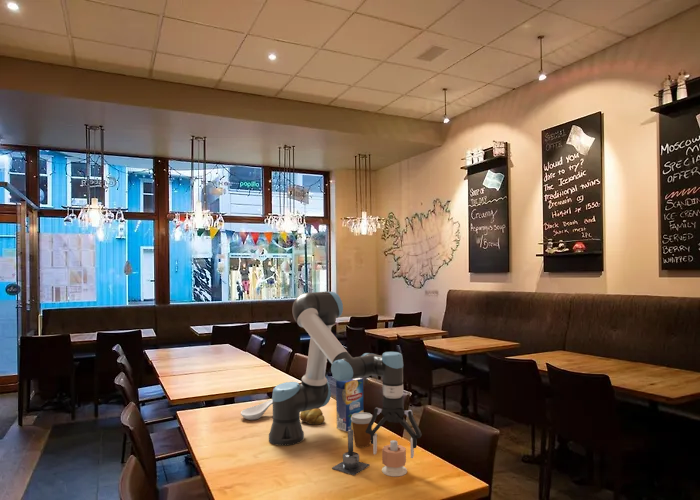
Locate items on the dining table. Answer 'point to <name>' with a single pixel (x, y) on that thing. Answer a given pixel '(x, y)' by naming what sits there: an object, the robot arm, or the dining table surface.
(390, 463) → the collar
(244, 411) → the spoon rest
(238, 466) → the dining table surface
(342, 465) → the stand
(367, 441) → the disposable coffee cup
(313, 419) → the bread roll
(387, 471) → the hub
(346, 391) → the beverage box
